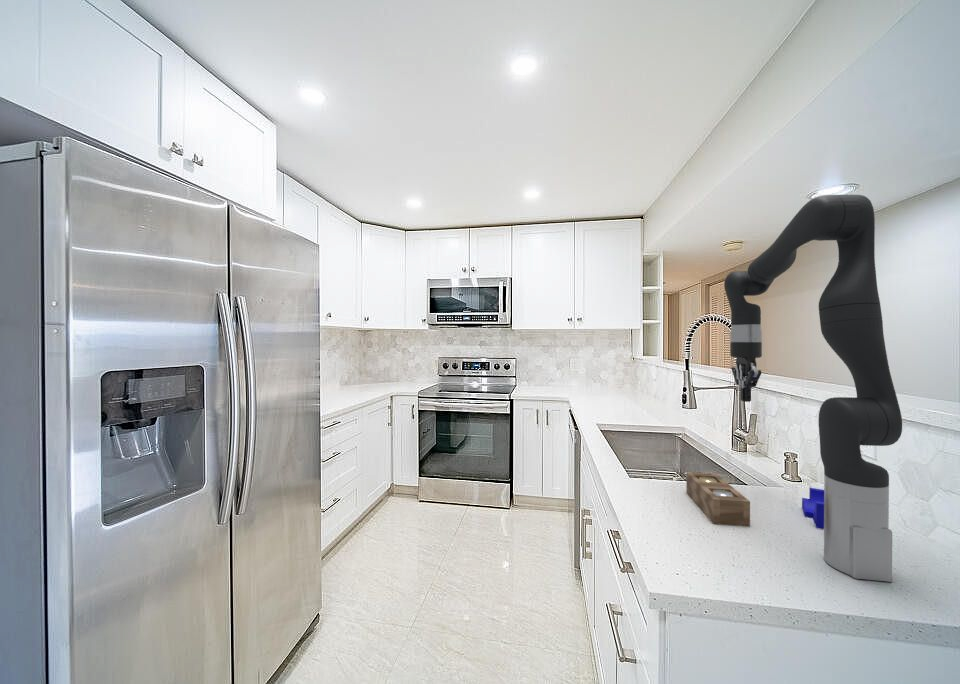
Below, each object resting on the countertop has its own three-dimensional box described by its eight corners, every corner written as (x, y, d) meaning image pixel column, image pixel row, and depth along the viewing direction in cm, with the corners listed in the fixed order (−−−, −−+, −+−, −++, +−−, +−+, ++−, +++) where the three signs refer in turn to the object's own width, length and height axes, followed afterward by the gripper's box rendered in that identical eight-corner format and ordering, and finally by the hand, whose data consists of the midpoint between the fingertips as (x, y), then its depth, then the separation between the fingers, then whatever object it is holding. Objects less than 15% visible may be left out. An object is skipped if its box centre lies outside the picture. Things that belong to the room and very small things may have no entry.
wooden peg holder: (750, 526, 95) (750, 501, 95) (713, 523, 96) (713, 499, 96) (716, 494, 115) (716, 473, 115) (686, 492, 116) (686, 472, 116)
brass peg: (719, 502, 108) (719, 482, 108) (702, 501, 109) (702, 481, 109) (713, 496, 112) (713, 477, 112) (696, 495, 113) (696, 476, 113)
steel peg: (736, 519, 98) (736, 497, 98) (716, 517, 99) (717, 495, 99) (728, 511, 102) (728, 490, 102) (710, 510, 103) (710, 489, 103)
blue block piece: (802, 508, 105) (802, 486, 105) (824, 513, 103) (824, 489, 103) (808, 526, 95) (808, 501, 95) (833, 531, 93) (833, 506, 93)
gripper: (772, 340, 107) (772, 405, 107) (749, 340, 120) (748, 398, 120) (742, 340, 108) (741, 404, 108) (721, 340, 121) (721, 397, 121)
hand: (745, 401), depth 114 cm, fingers closed
